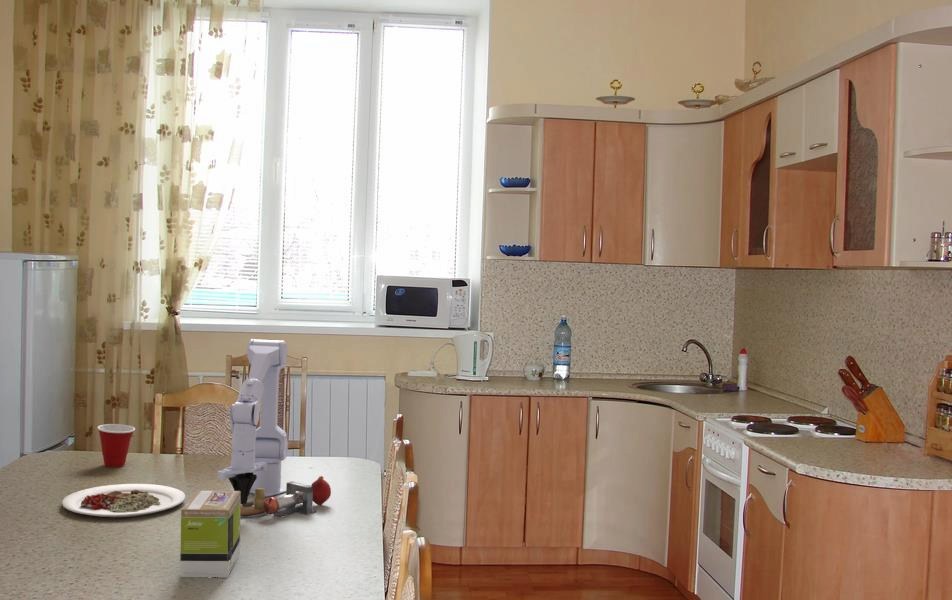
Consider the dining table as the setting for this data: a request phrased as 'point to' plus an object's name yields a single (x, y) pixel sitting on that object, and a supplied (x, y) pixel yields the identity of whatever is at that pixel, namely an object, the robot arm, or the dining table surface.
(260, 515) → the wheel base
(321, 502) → the pomegranate
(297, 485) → the eye bracket
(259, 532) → the dining table surface
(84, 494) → the plated food
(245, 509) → the handwheel
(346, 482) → the dining table surface
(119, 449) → the plastic cup
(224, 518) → the tea box
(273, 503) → the copper capped rod
